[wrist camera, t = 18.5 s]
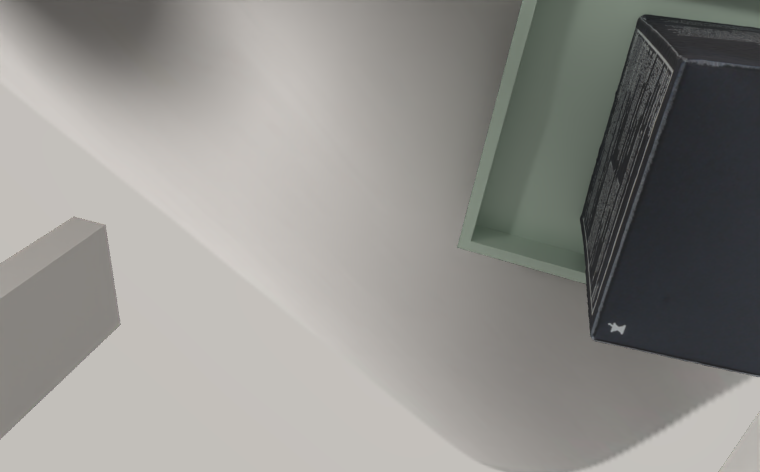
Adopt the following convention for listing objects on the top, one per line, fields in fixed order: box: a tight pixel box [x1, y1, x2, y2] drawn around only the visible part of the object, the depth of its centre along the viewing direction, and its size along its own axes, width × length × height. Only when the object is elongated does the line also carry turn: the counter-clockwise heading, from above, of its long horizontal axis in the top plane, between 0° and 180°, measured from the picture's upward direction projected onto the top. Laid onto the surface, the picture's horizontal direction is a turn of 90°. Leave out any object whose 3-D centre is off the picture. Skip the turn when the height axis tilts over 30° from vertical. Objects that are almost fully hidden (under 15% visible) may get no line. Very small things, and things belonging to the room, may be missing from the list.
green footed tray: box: [457, 0, 760, 284], centre depth 27 cm, size 14×15×4 cm
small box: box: [580, 14, 760, 377], centre depth 23 cm, size 11×6×10 cm, turn 175°
